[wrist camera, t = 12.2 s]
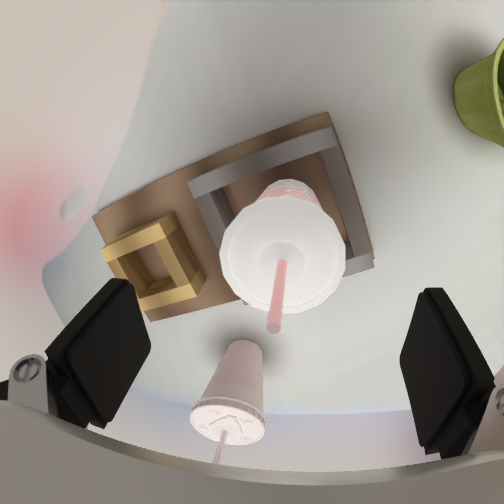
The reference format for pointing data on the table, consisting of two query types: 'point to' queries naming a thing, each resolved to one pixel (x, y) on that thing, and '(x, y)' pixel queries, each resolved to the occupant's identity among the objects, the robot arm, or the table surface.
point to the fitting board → (224, 215)
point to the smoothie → (233, 399)
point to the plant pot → (483, 96)
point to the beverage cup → (283, 252)
